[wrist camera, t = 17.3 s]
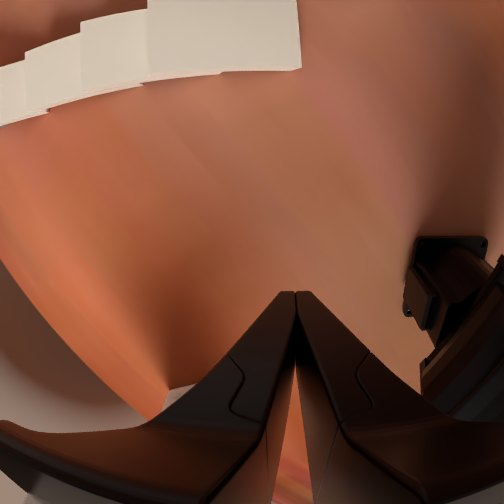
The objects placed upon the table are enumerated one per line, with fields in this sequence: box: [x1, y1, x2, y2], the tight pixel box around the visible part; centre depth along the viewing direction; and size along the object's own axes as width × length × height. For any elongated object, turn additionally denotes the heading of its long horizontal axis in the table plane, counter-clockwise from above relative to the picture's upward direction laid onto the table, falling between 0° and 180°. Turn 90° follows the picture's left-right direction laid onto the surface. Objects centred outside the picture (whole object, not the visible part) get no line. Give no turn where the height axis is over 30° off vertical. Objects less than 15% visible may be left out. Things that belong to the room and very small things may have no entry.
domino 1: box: [147, 0, 302, 78], centre depth 14 cm, size 2×4×8 cm
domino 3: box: [25, 33, 144, 112], centre depth 15 cm, size 2×4×8 cm
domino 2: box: [80, 9, 221, 93], centre depth 15 cm, size 2×4×8 cm
